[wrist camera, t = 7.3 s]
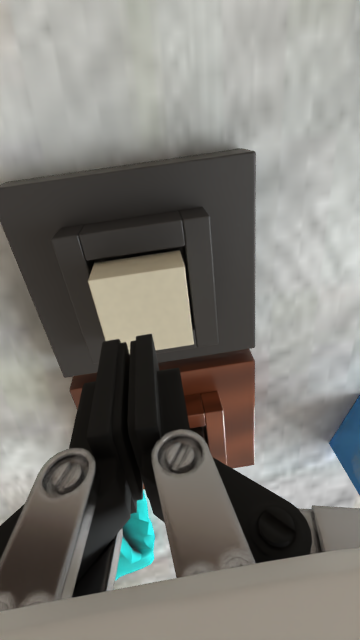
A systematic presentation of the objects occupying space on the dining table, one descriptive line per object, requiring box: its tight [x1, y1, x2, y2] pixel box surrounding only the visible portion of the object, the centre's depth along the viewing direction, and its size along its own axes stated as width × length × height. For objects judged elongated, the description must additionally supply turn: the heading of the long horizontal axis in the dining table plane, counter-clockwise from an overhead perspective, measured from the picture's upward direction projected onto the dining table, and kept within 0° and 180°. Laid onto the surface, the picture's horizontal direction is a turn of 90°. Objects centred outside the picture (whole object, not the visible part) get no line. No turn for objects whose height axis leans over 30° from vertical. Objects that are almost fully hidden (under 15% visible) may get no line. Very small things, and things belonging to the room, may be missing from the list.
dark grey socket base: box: [0, 149, 256, 377], centre depth 17 cm, size 11×12×4 cm
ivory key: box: [88, 250, 194, 354], centre depth 15 cm, size 4×4×2 cm
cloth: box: [115, 491, 155, 580], centre depth 34 cm, size 26×14×2 cm, turn 139°
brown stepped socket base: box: [70, 349, 255, 489], centre depth 23 cm, size 11×12×4 cm
